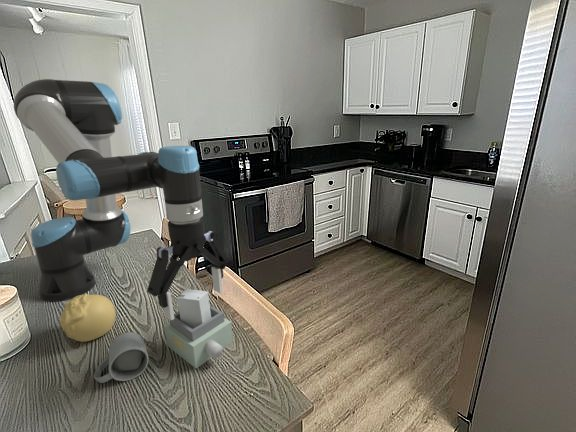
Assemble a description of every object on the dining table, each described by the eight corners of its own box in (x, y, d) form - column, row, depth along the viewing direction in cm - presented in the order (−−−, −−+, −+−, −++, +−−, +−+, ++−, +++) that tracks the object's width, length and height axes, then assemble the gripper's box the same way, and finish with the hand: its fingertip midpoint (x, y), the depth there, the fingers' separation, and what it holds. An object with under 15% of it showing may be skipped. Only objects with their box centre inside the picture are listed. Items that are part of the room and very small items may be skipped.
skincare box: (213, 332, 77) (209, 290, 73) (204, 345, 73) (200, 300, 69) (192, 328, 78) (187, 287, 75) (182, 340, 74) (176, 297, 71)
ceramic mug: (145, 349, 75) (139, 323, 73) (151, 371, 68) (145, 343, 66) (95, 368, 70) (87, 341, 67) (96, 394, 63) (88, 365, 61)
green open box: (166, 345, 76) (161, 316, 74) (203, 323, 84) (200, 296, 82) (203, 375, 67) (199, 344, 65) (241, 347, 76) (239, 317, 73)
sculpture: (65, 329, 83) (56, 294, 79) (115, 313, 89) (109, 281, 85) (64, 355, 73) (53, 317, 70) (120, 336, 80) (113, 300, 76)
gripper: (137, 240, 55) (154, 338, 62) (239, 208, 74) (244, 286, 80) (118, 231, 60) (136, 323, 66) (219, 203, 78) (225, 277, 85)
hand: (195, 303), depth 73 cm, fingers open, 13 cm apart
